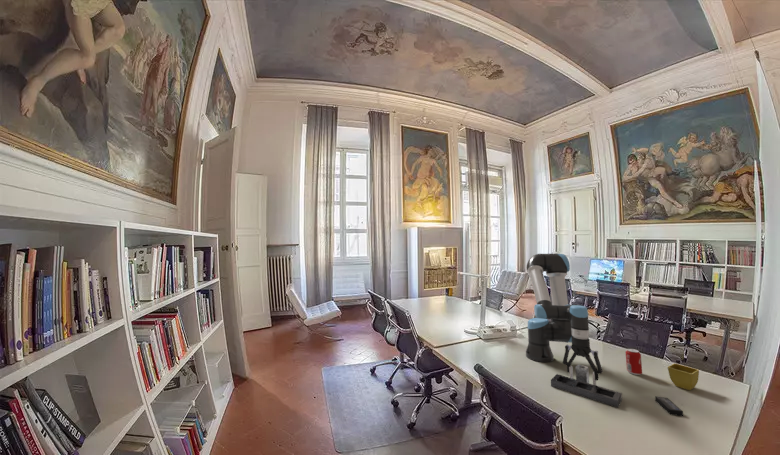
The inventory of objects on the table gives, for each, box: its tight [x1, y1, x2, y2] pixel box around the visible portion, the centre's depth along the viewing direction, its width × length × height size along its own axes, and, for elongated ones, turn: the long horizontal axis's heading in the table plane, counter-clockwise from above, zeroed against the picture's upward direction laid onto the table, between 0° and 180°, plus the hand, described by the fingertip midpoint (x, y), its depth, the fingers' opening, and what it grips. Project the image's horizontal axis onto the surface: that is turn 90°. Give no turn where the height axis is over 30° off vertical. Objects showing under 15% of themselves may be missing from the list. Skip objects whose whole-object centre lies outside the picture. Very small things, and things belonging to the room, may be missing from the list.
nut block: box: [575, 364, 590, 384], centre depth 141 cm, size 4×4×8 cm
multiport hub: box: [654, 396, 684, 417], centre depth 118 cm, size 4×11×2 cm, turn 161°
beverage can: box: [625, 348, 643, 376], centre depth 151 cm, size 6×6×12 cm
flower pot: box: [667, 363, 700, 391], centre depth 135 cm, size 9×9×9 cm
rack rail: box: [550, 373, 623, 409], centre depth 132 cm, size 26×9×3 cm, turn 43°
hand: (582, 382), depth 140 cm, fingers open, 9 cm apart
